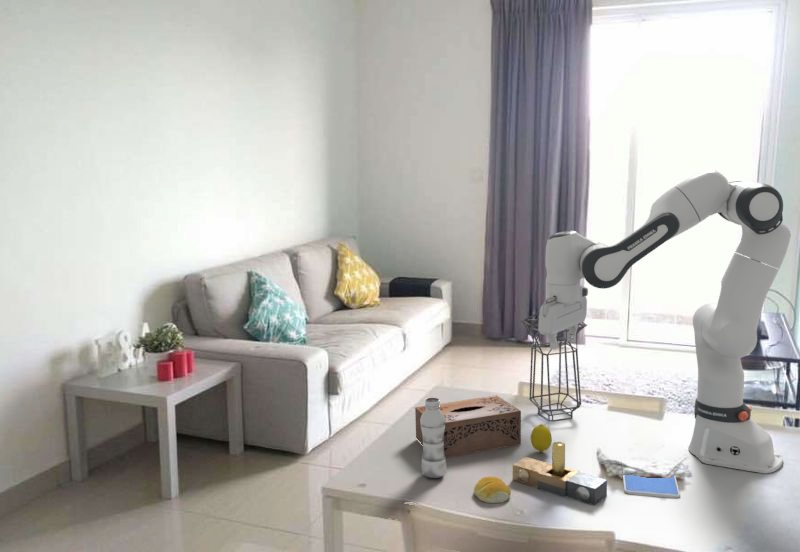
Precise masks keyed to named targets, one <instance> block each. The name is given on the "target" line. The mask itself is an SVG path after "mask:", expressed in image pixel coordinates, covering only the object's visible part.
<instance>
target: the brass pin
mask: <svg viewBox="0 0 800 552" xmlns="http://www.w3.org/2000/svg"><path fill="white" fill-rule="evenodd" d="M551 447H552V451H551V452H552V453H551V454H552V455H551V459H552V460H551V461H552V462H551V464H552V475H555V476H559V477H564V476H565V467H566V443H565V442H563V441H555V442H552V443H551Z"/></svg>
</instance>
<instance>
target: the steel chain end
mask: <svg viewBox="0 0 800 552" xmlns="http://www.w3.org/2000/svg"><path fill="white" fill-rule="evenodd" d="M537 489H538V490H540V491H541V490H542V491H544V492H548V493H551V494H553V495H557V496H559V497H564V498H571V499H574V500H576V501H579V502H584V503H586V504H590V505H592V506H596V505H597V504H598V503H600V502H601V501H603V500H604V499H605V498H606V497H607V496H608V495H607V494H608V479H605V478H601V477H599V476H595V475H592V474H588V473H584V472H581V471H580V472H577V473H576V474H575V475H573V476H572V477H571V478H569V479H568V480H566V489H563V488H560V487H556V486H553V485H550V484H547V483H543V482H540V481H538V487H537Z"/></svg>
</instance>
